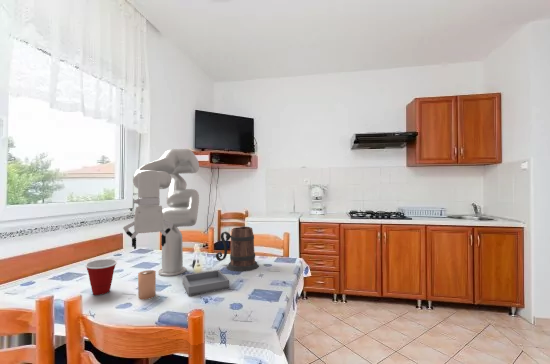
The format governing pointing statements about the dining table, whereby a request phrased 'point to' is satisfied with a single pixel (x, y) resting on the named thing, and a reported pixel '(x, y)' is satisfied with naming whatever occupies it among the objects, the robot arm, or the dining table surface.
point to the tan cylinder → (146, 284)
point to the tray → (205, 282)
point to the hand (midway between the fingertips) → (149, 247)
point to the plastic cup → (101, 275)
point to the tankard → (240, 250)
